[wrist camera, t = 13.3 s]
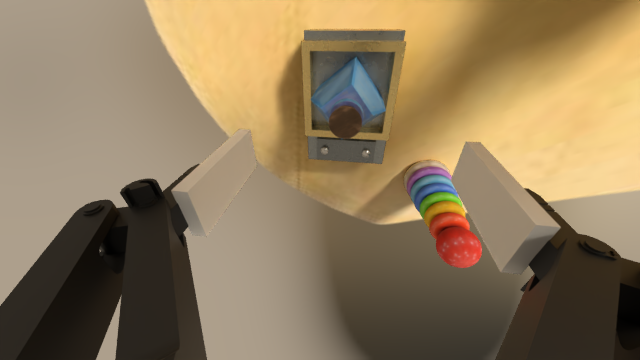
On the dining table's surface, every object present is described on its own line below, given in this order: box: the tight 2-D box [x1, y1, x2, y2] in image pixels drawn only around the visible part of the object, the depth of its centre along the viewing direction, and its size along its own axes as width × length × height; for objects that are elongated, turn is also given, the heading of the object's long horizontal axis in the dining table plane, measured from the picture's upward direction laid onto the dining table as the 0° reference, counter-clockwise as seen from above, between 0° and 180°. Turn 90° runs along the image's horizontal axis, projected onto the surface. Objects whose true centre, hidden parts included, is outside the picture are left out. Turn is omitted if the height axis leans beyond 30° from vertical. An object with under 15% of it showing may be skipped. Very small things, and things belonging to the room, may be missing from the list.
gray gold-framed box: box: [301, 29, 406, 164], centre depth 34 cm, size 18×12×7 cm, turn 0°
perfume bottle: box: [310, 56, 386, 139], centre depth 27 cm, size 6×6×12 cm
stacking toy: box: [404, 160, 482, 268], centre depth 35 cm, size 8×8×19 cm
